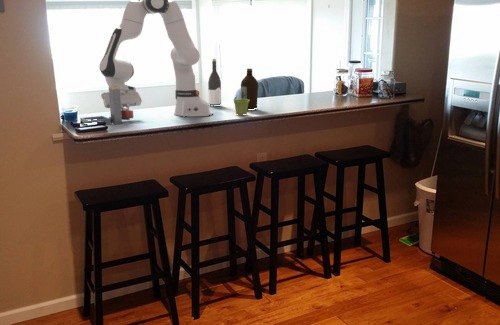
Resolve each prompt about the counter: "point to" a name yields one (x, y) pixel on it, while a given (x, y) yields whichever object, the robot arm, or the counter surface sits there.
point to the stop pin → (115, 105)
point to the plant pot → (241, 106)
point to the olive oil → (249, 89)
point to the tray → (99, 118)
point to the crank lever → (126, 114)
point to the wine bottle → (214, 86)
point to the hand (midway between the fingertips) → (126, 112)
